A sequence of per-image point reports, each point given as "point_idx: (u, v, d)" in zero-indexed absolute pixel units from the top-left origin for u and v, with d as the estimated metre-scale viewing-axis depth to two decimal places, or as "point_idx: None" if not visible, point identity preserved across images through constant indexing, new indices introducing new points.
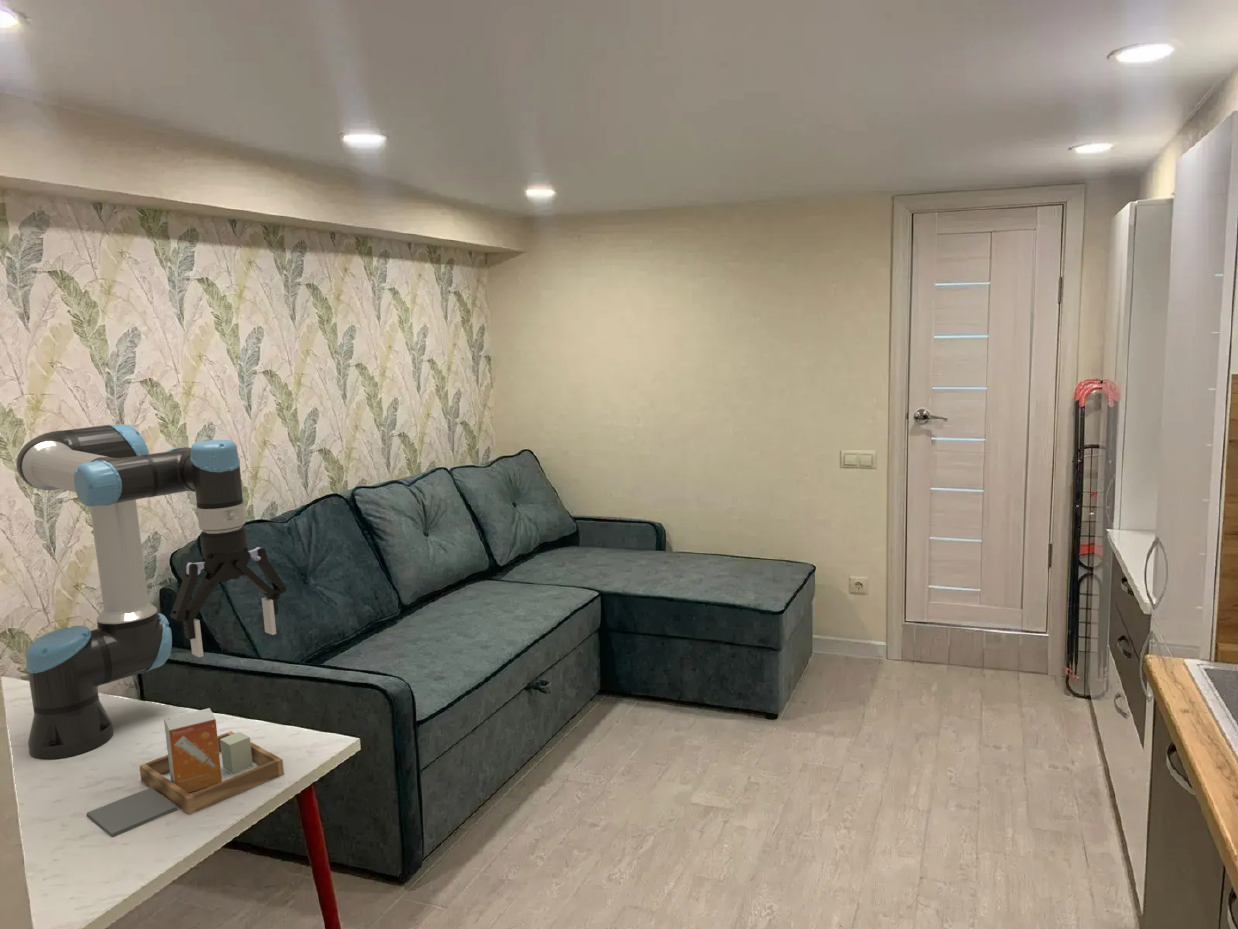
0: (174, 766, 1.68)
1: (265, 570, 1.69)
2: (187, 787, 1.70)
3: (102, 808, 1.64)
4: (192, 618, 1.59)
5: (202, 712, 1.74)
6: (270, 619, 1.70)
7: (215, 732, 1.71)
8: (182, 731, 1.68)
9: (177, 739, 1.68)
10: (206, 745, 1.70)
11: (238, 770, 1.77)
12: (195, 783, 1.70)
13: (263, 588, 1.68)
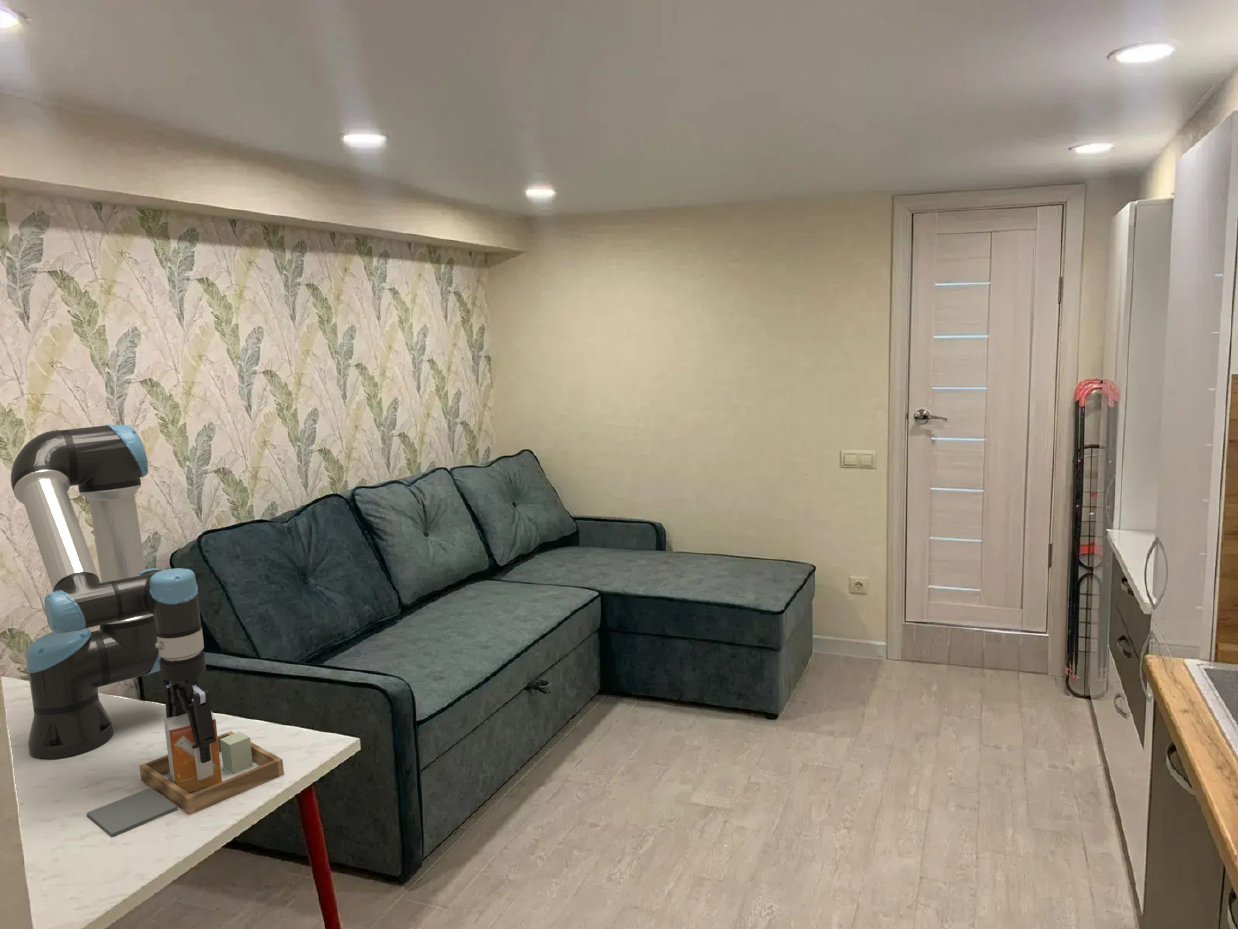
0: (174, 766, 1.68)
1: None
2: (187, 787, 1.70)
3: (102, 808, 1.64)
4: None
5: None
6: None
7: (215, 732, 1.71)
8: (182, 731, 1.68)
9: (177, 739, 1.67)
10: None
11: (238, 770, 1.77)
12: (195, 783, 1.70)
13: (192, 729, 1.68)
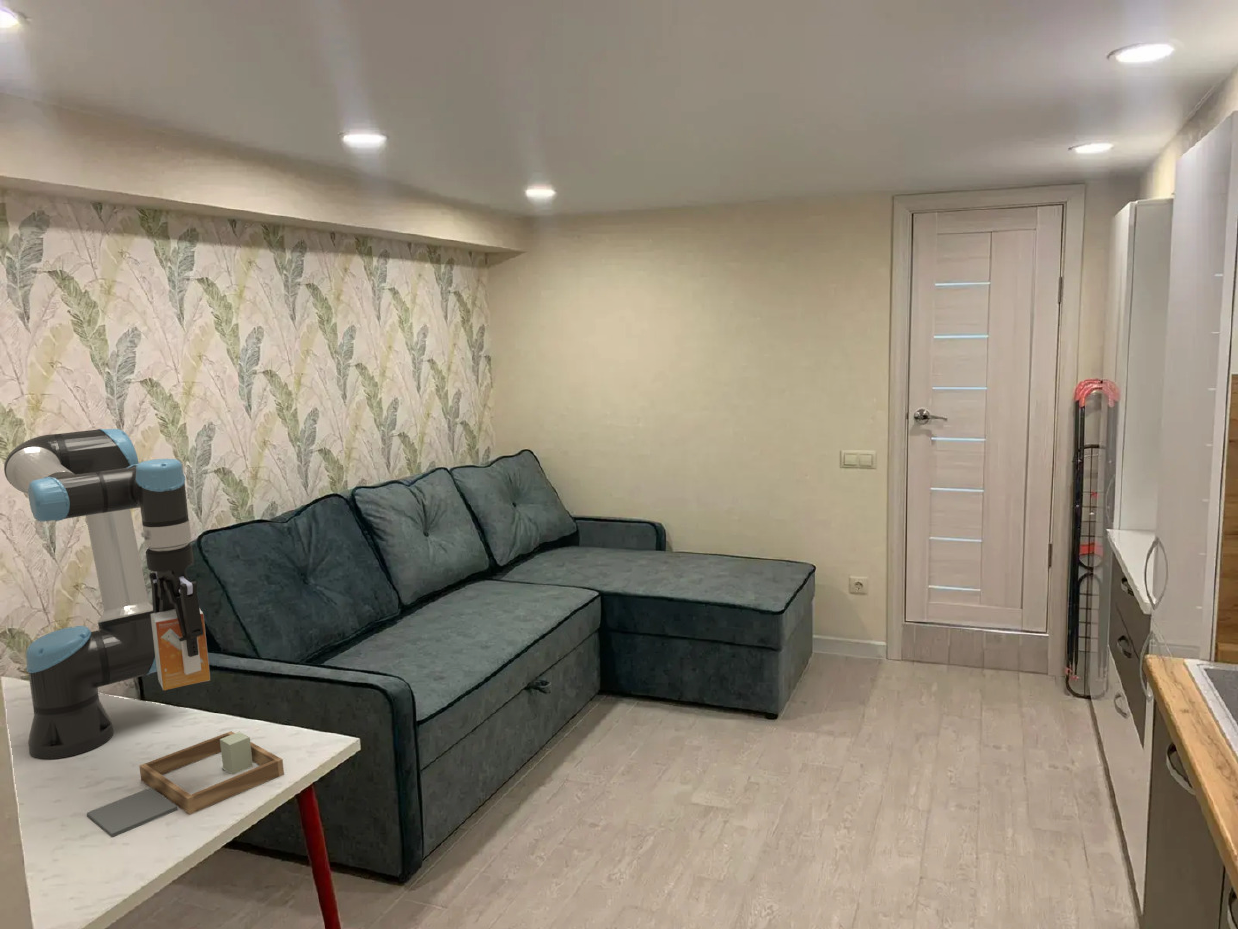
0: (161, 659, 1.65)
1: None
2: (174, 681, 1.66)
3: (102, 808, 1.64)
4: None
5: None
6: None
7: (203, 627, 1.68)
8: (169, 623, 1.64)
9: (163, 632, 1.64)
10: None
11: (238, 770, 1.77)
12: (182, 678, 1.67)
13: (179, 622, 1.65)
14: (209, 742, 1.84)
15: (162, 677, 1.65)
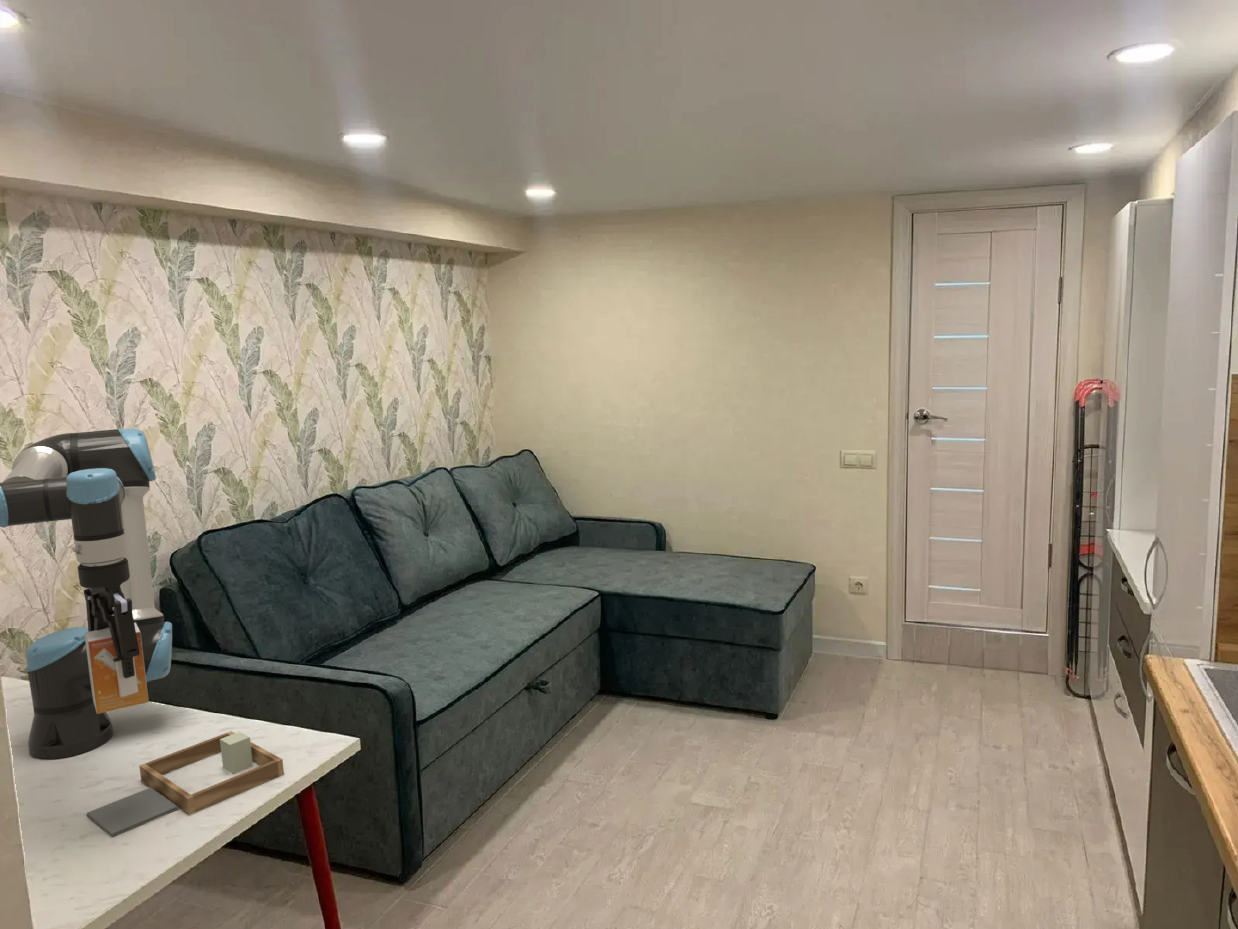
0: (94, 681, 1.55)
1: None
2: (109, 704, 1.57)
3: (102, 808, 1.64)
4: None
5: None
6: None
7: (140, 646, 1.59)
8: (102, 643, 1.55)
9: (97, 652, 1.55)
10: None
11: (238, 770, 1.77)
12: (118, 700, 1.58)
13: (113, 641, 1.55)
14: (209, 742, 1.84)
15: (96, 700, 1.56)
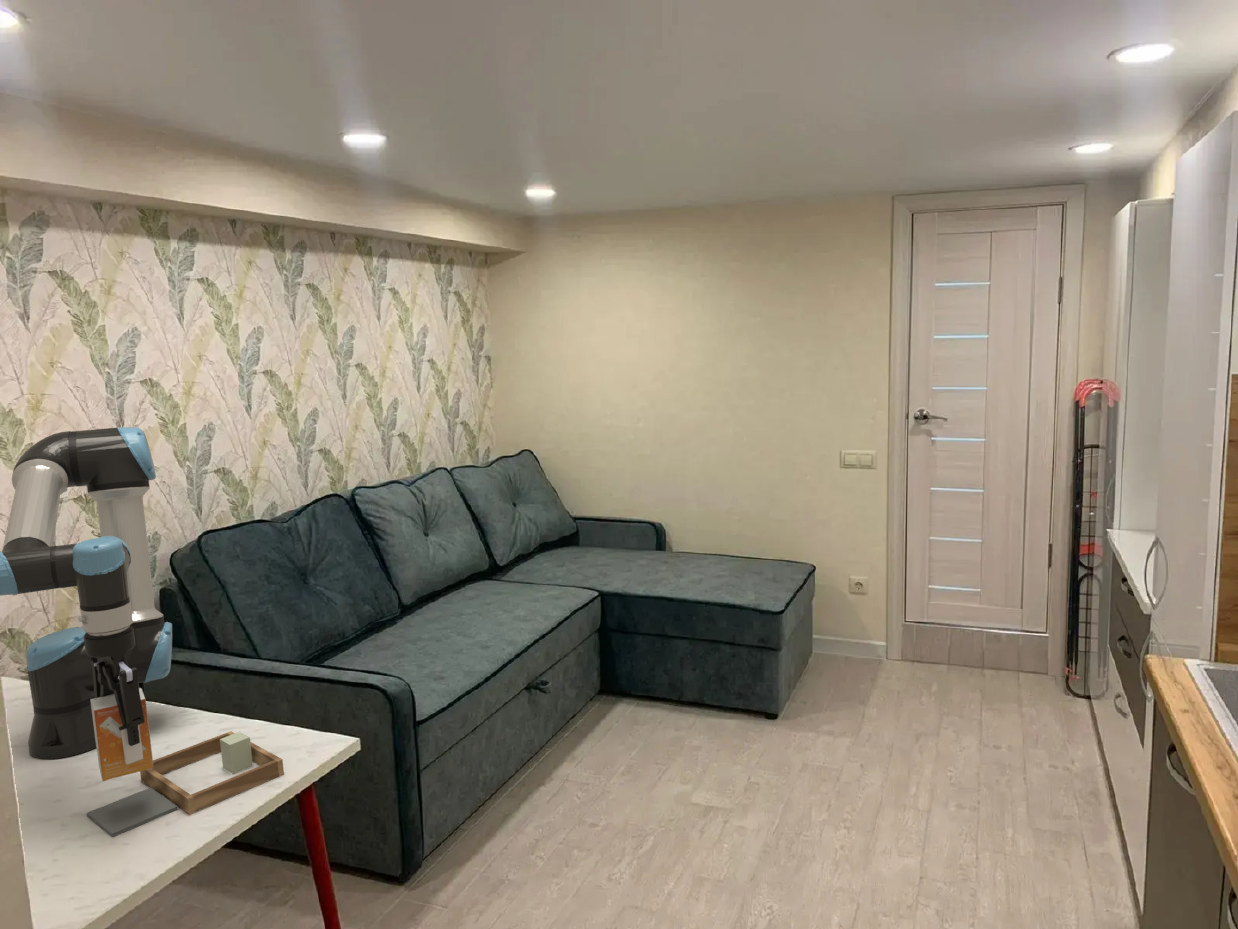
0: (100, 749, 1.57)
1: None
2: (114, 771, 1.58)
3: (102, 808, 1.64)
4: None
5: None
6: None
7: (145, 713, 1.60)
8: (108, 711, 1.57)
9: (102, 720, 1.56)
10: None
11: (238, 770, 1.77)
12: (123, 767, 1.59)
13: (119, 710, 1.57)
14: (209, 742, 1.84)
15: (101, 767, 1.57)
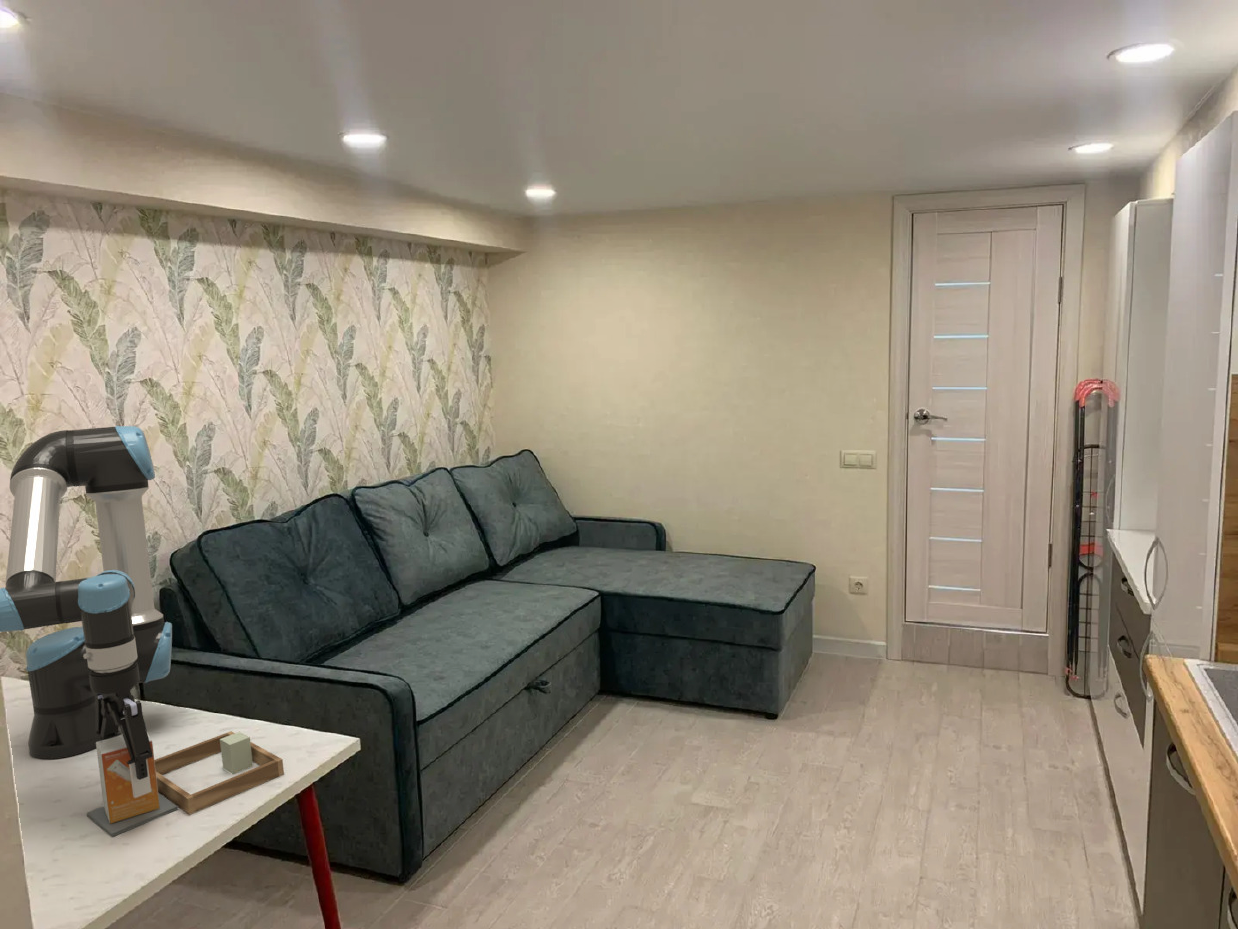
0: (107, 792, 1.58)
1: None
2: (121, 813, 1.60)
3: (102, 808, 1.64)
4: (101, 739, 1.65)
5: None
6: None
7: None
8: (115, 754, 1.58)
9: (110, 763, 1.58)
10: None
11: (238, 770, 1.77)
12: (130, 809, 1.61)
13: (126, 744, 1.57)
14: (209, 742, 1.84)
15: (109, 810, 1.59)
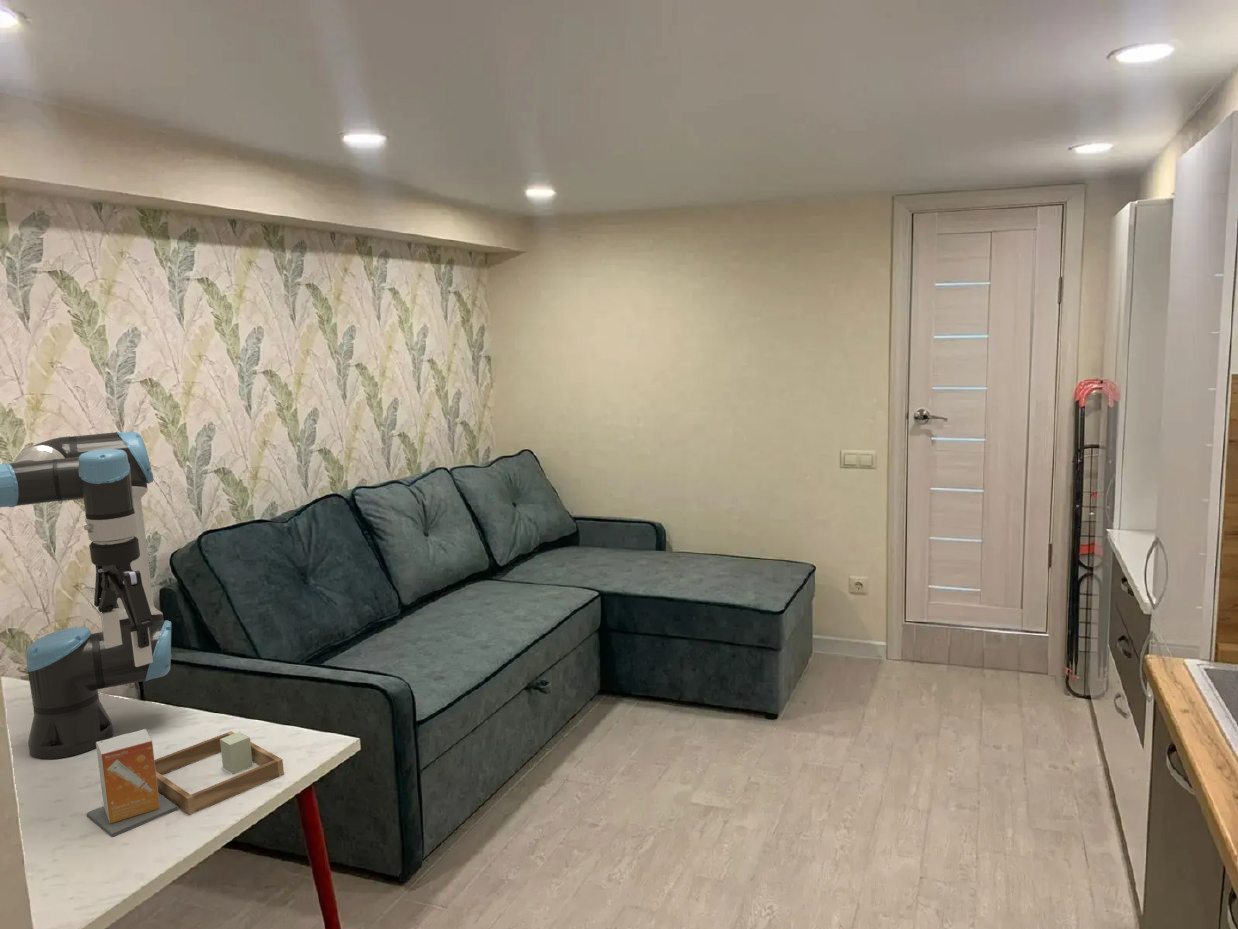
0: (107, 792, 1.58)
1: None
2: (121, 813, 1.60)
3: (102, 808, 1.64)
4: (99, 609, 1.67)
5: (138, 733, 1.64)
6: None
7: (152, 755, 1.62)
8: (115, 754, 1.58)
9: (110, 763, 1.58)
10: (142, 768, 1.61)
11: (238, 770, 1.77)
12: (130, 809, 1.61)
13: (127, 614, 1.58)
14: (209, 742, 1.84)
15: (109, 810, 1.59)
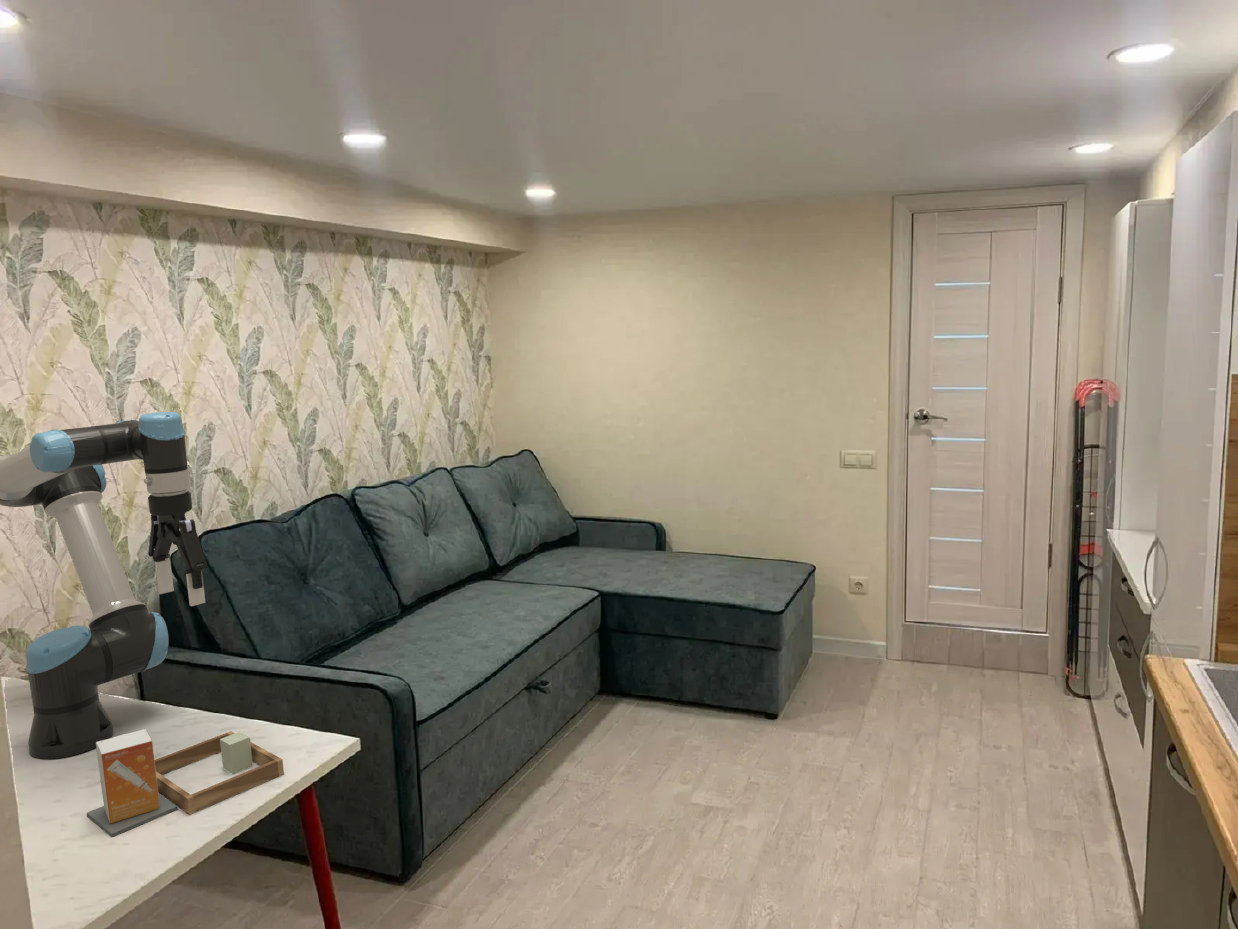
0: (107, 792, 1.58)
1: None
2: (121, 813, 1.60)
3: (102, 808, 1.64)
4: (153, 558, 1.85)
5: (137, 733, 1.64)
6: None
7: (152, 755, 1.62)
8: (115, 754, 1.58)
9: (110, 763, 1.58)
10: (142, 768, 1.61)
11: (238, 770, 1.77)
12: (130, 809, 1.61)
13: (183, 558, 1.76)
14: (209, 742, 1.84)
15: (109, 810, 1.59)
